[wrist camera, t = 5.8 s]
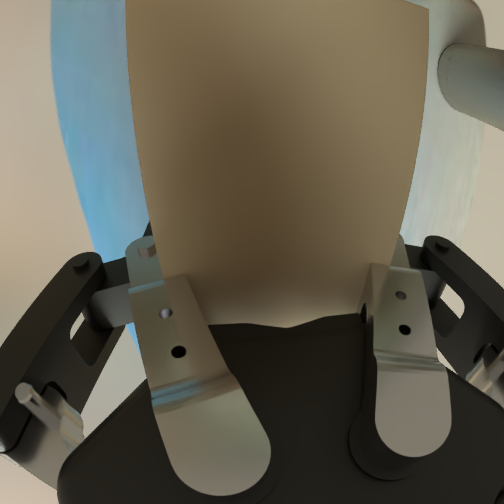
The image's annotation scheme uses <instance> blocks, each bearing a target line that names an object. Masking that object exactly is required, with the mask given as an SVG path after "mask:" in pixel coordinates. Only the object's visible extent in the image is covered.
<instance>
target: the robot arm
mask: <svg viewBox="0 0 504 504" xmlns="http://www.w3.org/2000/svg"><path fill="white" fill-rule="evenodd" d="M438 80H439V85H440V88H441V91H442V94H443V95H444V97H445V99H446V101H447V102H448V103H449V104H450V105H451V106H452V107H453V108H454V109H456V110H457V111H459V112H462V113H464V114H467V115H469V116H472V117H474V118H476V119H478V120H481V121H483V122H485V123H487V124H489V125H492V126H494V127H496V128H498V129H500V130H502V131H504V50H500V49H494V48H488V47H482V46H475V45H466V44H453V45H451V46H449V47H448V48H447V49H446V50H445V51H444V52H443V54H442V55H441V58H440V61H439V66H438ZM125 255H126V257H123V258H121V259H117V260H114V261H110V262H106V263H103V262H102V259H101V256H100V255H99V254H98V253H95V252H85V253H81V254H78V255H76V256H74V257H73V258H71V259H70V260H69V261H68V262H66V264H65V265H64V266H63V267H62V268H61V269H60V271H59V272H58V273H57V274H56V275H55V276H54V277H53V279H52V280H51V281H50V282H49V283H48V285H47V286H46V287H45V288H44V290H43V291H42V292H41V293H40V294H39V296H38V297H37V298H36V299H35V301H34V302H33V303H32V305H31V306H30V307H29V308H28V310H27V311H26V312H25V314H24V315H23V316H22V318H21V319H20V320H19V322H18V323H17V324H16V326H15V327H14V329H13V330H12V332H11V333H10V334H9V336H8V337H7V338H6V340H5V341H4V343H3V344H2V346H1V347H0V455H1V456H3V457H4V458H6V459H8V460H9V461H11V462H13V463H14V464H16V465H18V466H20V467H23V468H24V469H26V470H27V471H29V472H30V473H31V474H33V475H34V476H36V477H37V478H39V479H40V480H42V481H43V482H45V483H46V484H48V485H49V486H51V487H53V488H54V489H56V490H57V496H58V501H59V504H504V289H503V288H502V287H501V286H500V285H499V284H498V283H497V282H496V281H495V280H494V279H493V278H492V277H491V276H490V275H489V274H488V273H486V272H485V271H484V270H483V269H482V268H481V267H480V266H479V265H477V264H476V263H475V262H474V261H473V260H472V259H471V258H470V257H468V256H467V255H466V254H465V253H464V252H462V251H461V250H460V249H459V248H458V247H457V246H456V245H455V244H453V243H452V242H451V241H449V240H447V239H445V238H443V237H440V236H428V237H426V238H425V240H424V243H423V246H422V247H418V246H412V245H407V244H404V240H403V238H402V236H401V235H400V234H399V236H398V240H397V243H396V247H395V250H394V253H393V257H392V260H391V263H390V266H389V265H383V264H376V263H370V267H369V271H368V274H367V278H366V281H365V285H364V288H363V291H362V295H361V298H360V301H359V304H358V307H357V310H356V313H351V314H342V315H333V316H324V317H321V318H318V319H315V320H312V321H309V322H306V323H303V324H300V325H296V326H293V327H289V328H283V327H275V326H267V325H259V324H251V323H235V324H213V325H208V326H207V323H206V321H205V319H204V317H203V315H202V312H201V310H200V308H199V306H198V303H197V301H196V299H195V297H194V294H193V292H192V290H191V288H190V285H189V283H188V281H187V278H186V276H185V274H181V275H176V276H172V277H169V278H165V279H163V276H162V272H161V268H160V263H159V259H158V255H157V251H156V246H155V242H154V237H153V233H152V228H151V223H150V220H149V223H148V225H147V228H146V230H145V233H144V235H143V237H142V238H139V239H137V240H135V241H133V242H132V243H131V244H130V245H129V246H128V247H127V249H126V251H125ZM446 284H448V285H449V286H450V287H451V288H452V289H453V290H454V291H455V292H456V293H457V294H458V295H459V296H460V297H461V299H462V300H463V302H464V306H465V309H464V313H463V315H462V316H461V318H460V319H459V318H458V317H457V315H456V314H455V313H454V312H453V311H452V310H451V309H450V308H449V307H448V306H447V305H446V304H445V302H444V301H443V300H442V299H441V298H440V296H441V294H442V292H443V290H444V288H445V286H446ZM81 312H82V314H83V316H84V318H85V319H84V321H83V322H82V324H81V325H80V327H79V329H78V330H77V332H76V333H75V335H74V336H73V338H72V340H71V339H70V331H71V328H72V325H73V324H74V322H75V321H76V319H77V318H78V316H79V315H80V313H81ZM132 322H134V325H135V330H136V335H137V339H138V344H139V348H140V353H141V357H142V361H143V364H144V368H145V373H146V377H147V378H146V379H145V380H144V381H143V382H142V383H141V384H140V385H139V386H138V387H137V388H136V389H135V390H134V391H133V392H132V393H131V394H130V395H129V396H128V397H127V398H126V399H125V400H124V401H123V402H122V403H121V404H120V405H119V406H118V407H117V408H116V409H115V410H114V411H113V412H112V413H111V414H110V415H109V416H108V417H107V418H106V419H105V420H104V421H103V422H102V423H101V424H100V425H99V426H98V427H97V428H96V429H95V430H94V431H93V432H92V433H91V434H90V435H89V436H88V437H87V438H86V439H85V440H84V435H83V420H82V418H81V416H80V415H81V412H82V410H83V408H84V406H85V404H86V402H87V400H88V398H89V396H90V394H91V391H92V390H93V388H94V385H95V384H96V382H97V380H98V378H99V376H100V374H101V372H102V370H103V368H104V366H105V364H106V362H107V360H108V358H109V356H110V354H111V353H112V351H113V349H114V347H115V345H116V343H117V341H118V339H119V338H120V336H121V334H122V332H123V330H124V328H125V325H126V324H129V323H132ZM436 347H437V348H438V350H439V351H440V352H441V353H442V355H443V356H444V357H445V358H446V360H447V361H448V362H449V363H450V365H451V366H452V367H453V369H454V370H455V371H456V373H457V374H458V375H457V374H456V373H454V372H453V371H451V370H450V369H448V368H447V367H445V366H444V365H443V364H442V363H440V362H439V360H438V357H437V350H436Z"/></svg>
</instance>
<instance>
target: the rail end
mask: <svg viewBox="0 0 504 504" xmlns="http://www.w3.org/2000/svg"><path fill="white" fill-rule="evenodd" d="M126 40H127V58H128V72H129V84H130V95H131V104H132V113H133V122H134V130H135V137H136V144H137V151H138V158H139V164H140V170H141V176H142V182H143V187H144V193H145V198H146V204H147V209H148V214H149V219H150V223H151V228H152V233H153V237H154V242H155V246H156V251H157V255H158V259H159V263H160V268H161V272H162V276H163V279H165V278H169V277H172V276H176V275H181V274H185V276H186V278H187V281H188V283H189V285H190V288H191V290H192V292H193V294H194V297H195V299H196V301H197V303H198V306H199V308H200V310H201V312H202V315H203V317H204V319H205V321H206V323H207V326H208V325H213V324H235V323H251V324H259V325H267V326H275V327H283V328H289V327H293V326H296V325H300V324H303V323H306V322H309V321H312V320H315V319H318V318H321V317H324V316H333V315H342V314H351V313H356V310H357V307H358V304H359V301H360V298H361V295H362V291H363V288H364V285H365V281H366V278H367V274H368V271H369V267H370V263H376V264H383V265H389V266H390V263H391V260H392V257H393V253H394V250H395V247H396V243H397V240H398V236H399V233H400V229H401V225H402V221H403V217H404V213H405V209H406V205H407V201H408V197H409V192H410V188H411V183H412V178H413V174H414V168H415V163H416V158H417V152H418V146H419V140H420V134H421V127H422V120H423V112H424V103H425V94H426V83H427V69H428V48H429V9H427V8H424V7H422V6H419V5H416V4H413V3H410V2H408V1H404V0H126Z"/></svg>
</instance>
